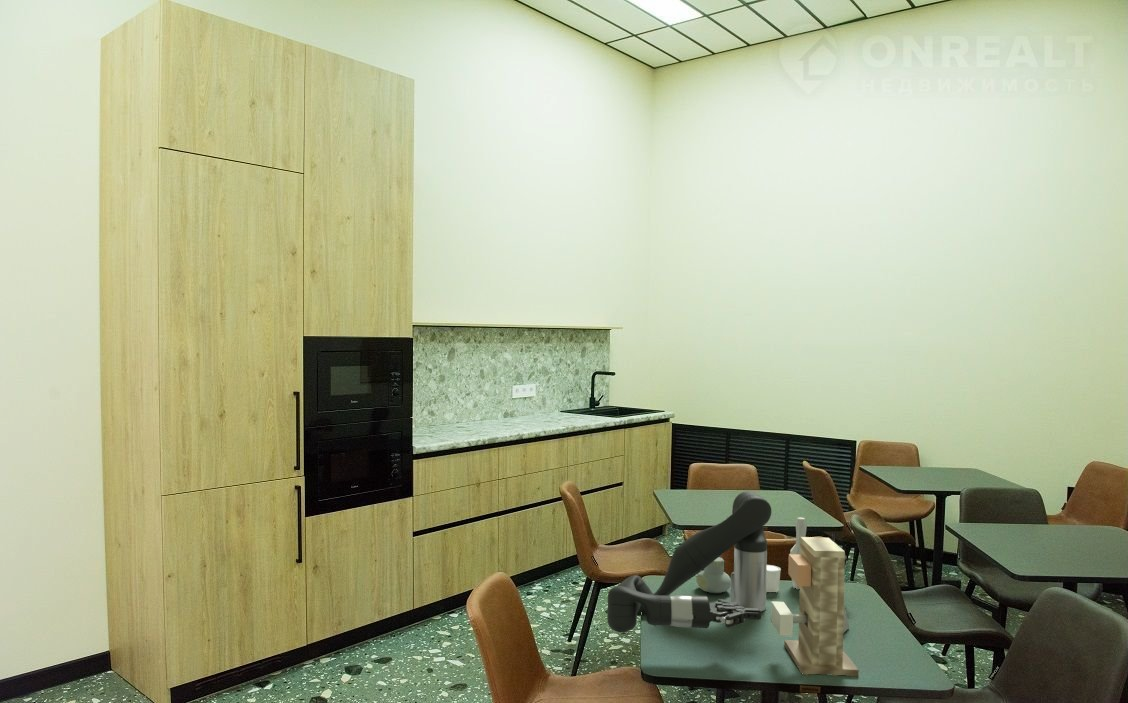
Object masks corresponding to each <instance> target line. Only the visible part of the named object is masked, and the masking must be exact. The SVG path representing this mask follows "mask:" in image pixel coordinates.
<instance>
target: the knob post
mask: <svg viewBox="0 0 1128 703" xmlns="http://www.w3.org/2000/svg"><path fill="white" fill-rule="evenodd" d="M800 554H801V555H802V556H803V557H804V558H805V559H806V560H807V561H808V563H809V564H810V565H811V586H800V590H799V593H798V594H799V602H798V603H799V604H798V606H799V608H798V615H808V623H798V639H784V640H783V642H784V645H783V646H784V647H785V649H786V651H787V652H788V655H789V656H790V657H791V659H792V660H793V663H794V664H795V665H797V666H796V667H797V669H798V668H799V669H798V671H799V670H800V671H801V672H800V671H799V672H800V674H801V673H803V674H802V675H808V674H832V675H831V676H837V675H847V676H846V677H859V672H860V671H859V669H858V667H857V665H855V664H854V662H853V661H852V660H851V658H850V657H849V656H848V654H846V652H845V651H844V633H843V619H844V607H845V604H844V603H845V568H846V567H845V565H846V559H845V555H846V552H845V550H844V549H843V548H842V547H840V546H839V545H838V544H837V543H836V542H835V541H834V542H833V541H832V538H830V537H816V536H815V537H813V536H812V537H811V536H810V537H809V536H806V537H801V538H800ZM849 675H850V676H849Z"/></svg>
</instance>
